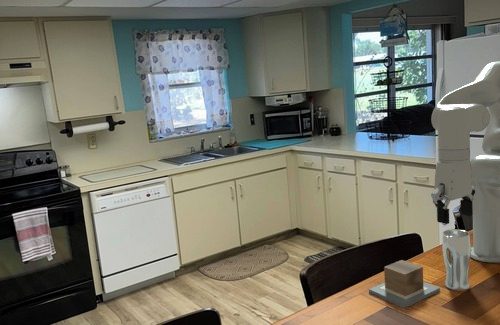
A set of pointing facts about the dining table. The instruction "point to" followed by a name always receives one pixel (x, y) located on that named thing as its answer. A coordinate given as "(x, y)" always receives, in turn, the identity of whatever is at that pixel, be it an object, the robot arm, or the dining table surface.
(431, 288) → the board
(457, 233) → the metal cup
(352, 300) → the dining table surface
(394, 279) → the walnut block
